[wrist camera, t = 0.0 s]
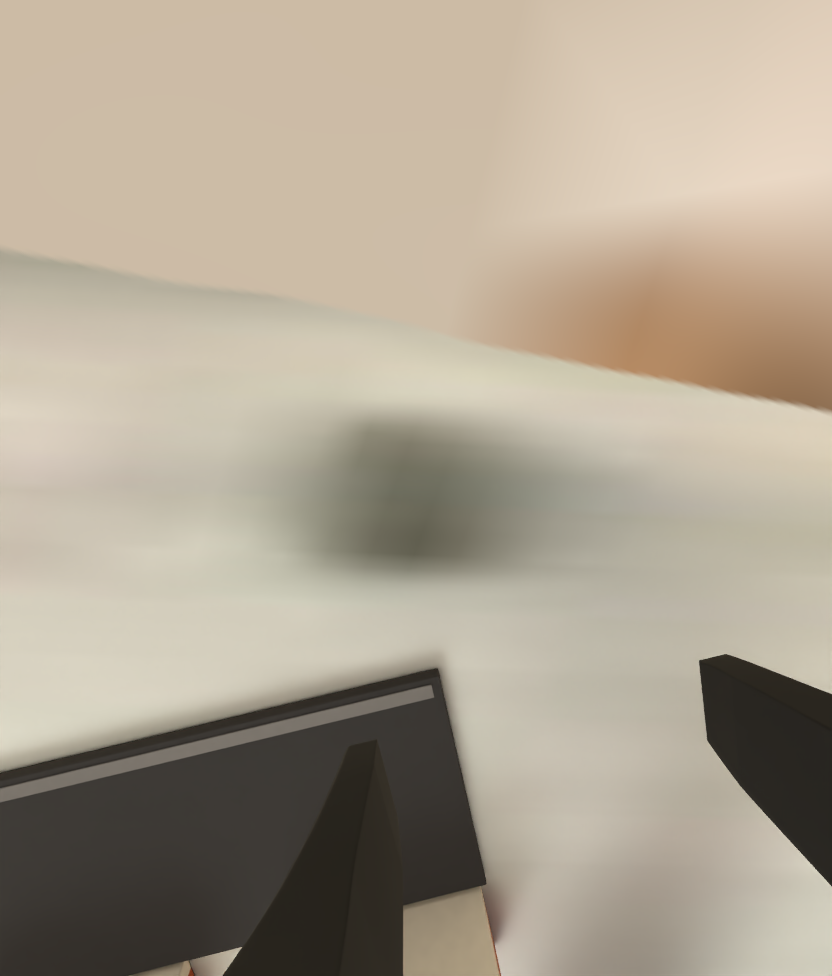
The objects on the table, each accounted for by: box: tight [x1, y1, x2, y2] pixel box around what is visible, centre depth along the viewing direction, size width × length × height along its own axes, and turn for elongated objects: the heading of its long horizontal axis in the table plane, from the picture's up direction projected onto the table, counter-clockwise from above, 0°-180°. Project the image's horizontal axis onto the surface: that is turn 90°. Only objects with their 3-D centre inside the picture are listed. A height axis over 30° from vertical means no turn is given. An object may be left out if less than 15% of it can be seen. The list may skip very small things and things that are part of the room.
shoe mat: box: [0, 669, 486, 976], centre depth 22 cm, size 11×28×1 cm, turn 102°
